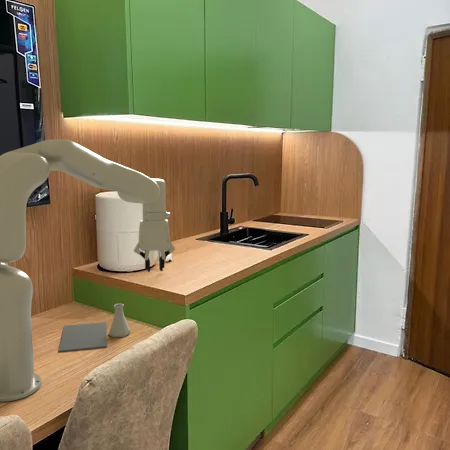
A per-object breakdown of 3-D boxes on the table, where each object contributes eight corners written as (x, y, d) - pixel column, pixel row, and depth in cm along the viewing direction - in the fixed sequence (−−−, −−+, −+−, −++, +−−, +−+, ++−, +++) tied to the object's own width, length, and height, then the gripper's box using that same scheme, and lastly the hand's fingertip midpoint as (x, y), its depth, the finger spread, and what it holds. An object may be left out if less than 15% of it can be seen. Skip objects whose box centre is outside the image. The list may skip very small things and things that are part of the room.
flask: (124, 339, 139) (124, 309, 138) (104, 336, 141) (103, 307, 139) (134, 330, 146) (133, 302, 145) (114, 328, 148) (113, 300, 146)
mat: (58, 352, 129) (58, 350, 129) (64, 327, 148) (64, 325, 148) (106, 347, 133) (106, 345, 133) (106, 323, 152) (106, 322, 152)
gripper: (177, 214, 146) (177, 266, 149) (127, 215, 142) (128, 269, 145) (181, 217, 139) (181, 272, 142) (129, 218, 135) (130, 275, 138)
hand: (154, 270), depth 144 cm, fingers open, 3 cm apart
